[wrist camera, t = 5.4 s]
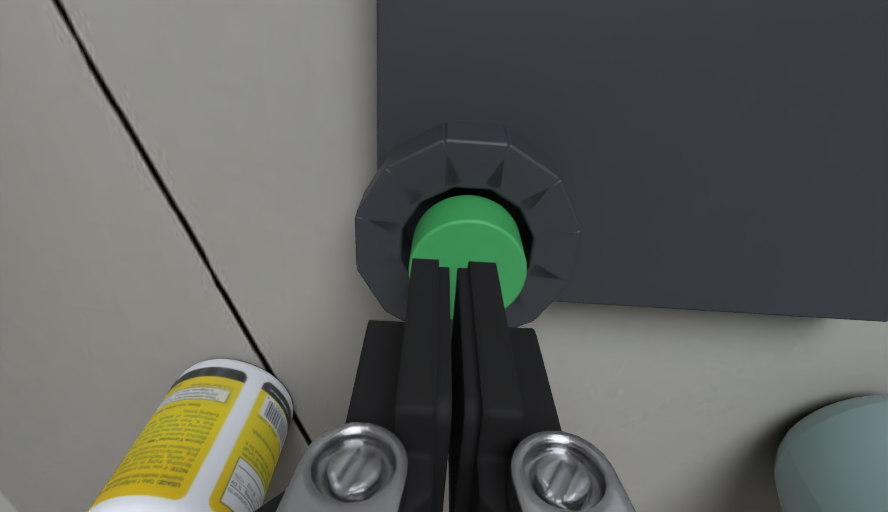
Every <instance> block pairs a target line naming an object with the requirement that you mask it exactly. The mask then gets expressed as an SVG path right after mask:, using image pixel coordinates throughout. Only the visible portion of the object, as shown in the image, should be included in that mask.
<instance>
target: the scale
mask: <svg viewBox="0 0 888 512" xmlns="http://www.w3.org/2000/svg"><path fill="white" fill-rule="evenodd" d="M460 195H474V196H480V197H484V198H487V199H490V200H492V201H494V202H496V203H498V204H499V205H500V206H502V207H503V208H504V209H505V210H506V211H507V212H508V213H509V214H510V215H511V216H512V218H513V219H514V221H515V223H516V225H517V227H518V230H519V234H520V238H521V242H522V246H523V250H524V254H525V258H526V262H527V275H526V279H525V283H524V286H523V288H522V290H521V292H520V293H519V295H518V296H517V298H516V299H515V300H514V301H513V302H512V303H511V304H510V305H509V306H508V307H507V308H505V313H506V318H507V324H508V327H514V328H516V327H518V326H521V325H524V324H526V323H529V322H532V321H534V319H536V318H537V317H538V316H539V315H540V314H541V313H542V312H543V311H544V310H545V309H546V308H547V306H548V305H549V304H550V303H551V302H552V301H559V302H575V303H591V304H607V305H623V306H640V307H656V308H672V309H688V310H704V311H720V312H737V313H753V314H769V315H785V316H801V317H817V318H834V319H850V320H866V321H882V322H887V321H888V0H377V173H376V174H375V176H374V178H373V179H372V181H371V182H370V184H369V186H368V187H367V189H366V190H365V193H364V195H363V198H362V200H361V202H360V205H359V207H358V210H357V213H356V216H355V237H356V265H357V270H358V272H359V273H360V274H361V276H362V277H363V279H364V280H365V282H366V283H367V285H368V286H369V288H370V289H371V291H372V292H373V294H374V295H375V297H376V298H377V300H378V301H379V303H380V304H381V306H382V307H383V309H384V310H386V312H388V313H390V314H392V315H393V316H395V317H397V318H399V319H401V320H403V321H405V318H406V309H407V300H408V291H409V282H410V279H409V269H408V268H409V260H410V254H411V247H412V241H413V235H414V231H415V228H416V226H417V223H418V222H419V220H420V218H421V217H422V216H423V215H424V213H425V212H426V211H427V210H428V209H429V208H431V207H432V206H433V205H435V204H436V203H438V202H440V201H442V200H444V199H447V198H450V197H454V196H460ZM452 324H453V319H451V335H452Z"/></svg>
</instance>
